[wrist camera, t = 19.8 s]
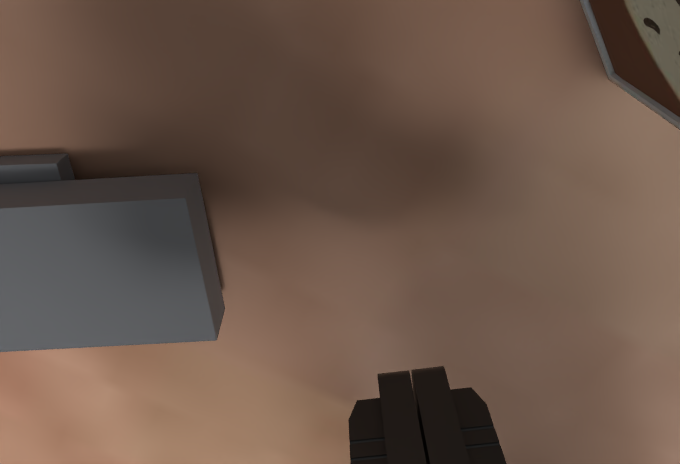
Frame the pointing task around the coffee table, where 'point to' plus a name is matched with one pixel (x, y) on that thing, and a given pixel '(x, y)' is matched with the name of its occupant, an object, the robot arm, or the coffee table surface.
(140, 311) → the domino
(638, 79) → the food container
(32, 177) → the domino
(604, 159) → the coffee table surface
